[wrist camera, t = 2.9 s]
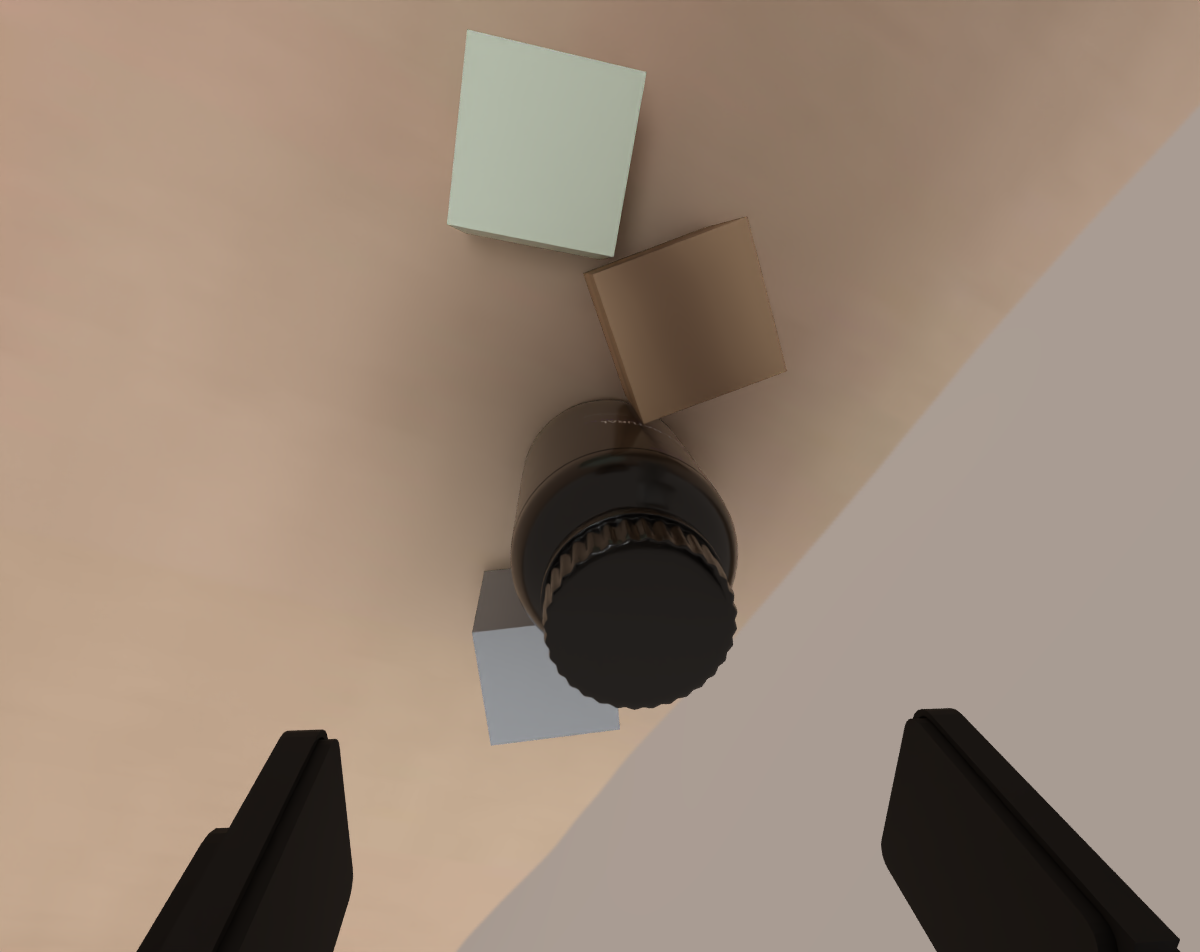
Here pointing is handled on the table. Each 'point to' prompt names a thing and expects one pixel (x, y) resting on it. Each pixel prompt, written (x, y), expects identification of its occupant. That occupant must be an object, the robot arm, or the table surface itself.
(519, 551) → the supplement bottle
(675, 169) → the table surface
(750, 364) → the walnut cube
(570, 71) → the sage cube
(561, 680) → the slate cube
